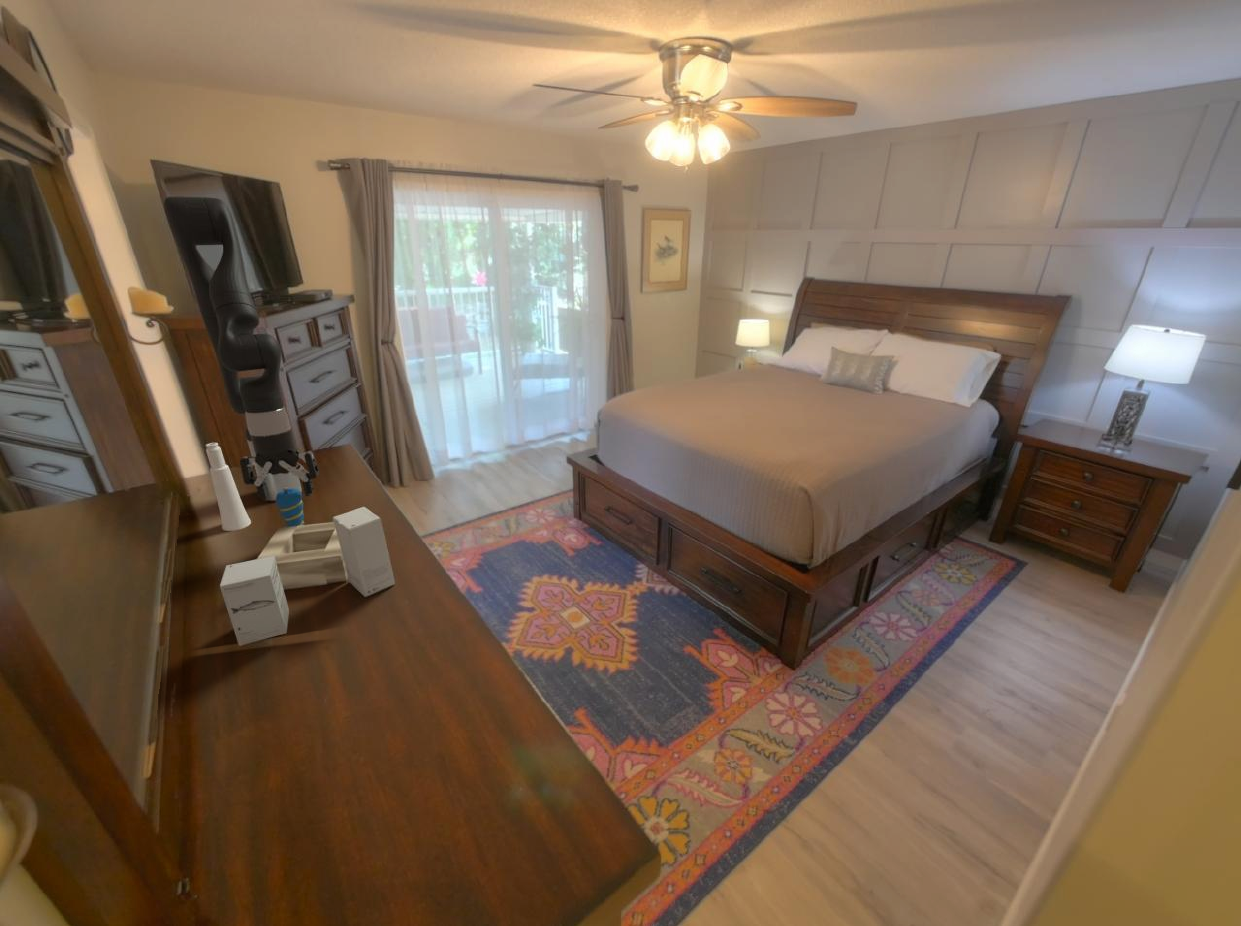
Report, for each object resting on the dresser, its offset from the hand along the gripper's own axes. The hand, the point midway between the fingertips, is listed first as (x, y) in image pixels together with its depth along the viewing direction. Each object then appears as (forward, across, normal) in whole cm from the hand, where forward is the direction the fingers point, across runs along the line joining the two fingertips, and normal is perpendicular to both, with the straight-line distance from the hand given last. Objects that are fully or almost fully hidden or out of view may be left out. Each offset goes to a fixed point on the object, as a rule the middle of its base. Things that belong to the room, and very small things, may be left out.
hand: (288, 497), depth 116 cm
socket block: (+12, -6, +12) cm, 18 cm away
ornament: (+12, 0, 0) cm, 12 cm away
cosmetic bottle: (+12, +17, -13) cm, 25 cm away
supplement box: (+13, -3, +32) cm, 34 cm away
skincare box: (+13, -19, +22) cm, 31 cm away
